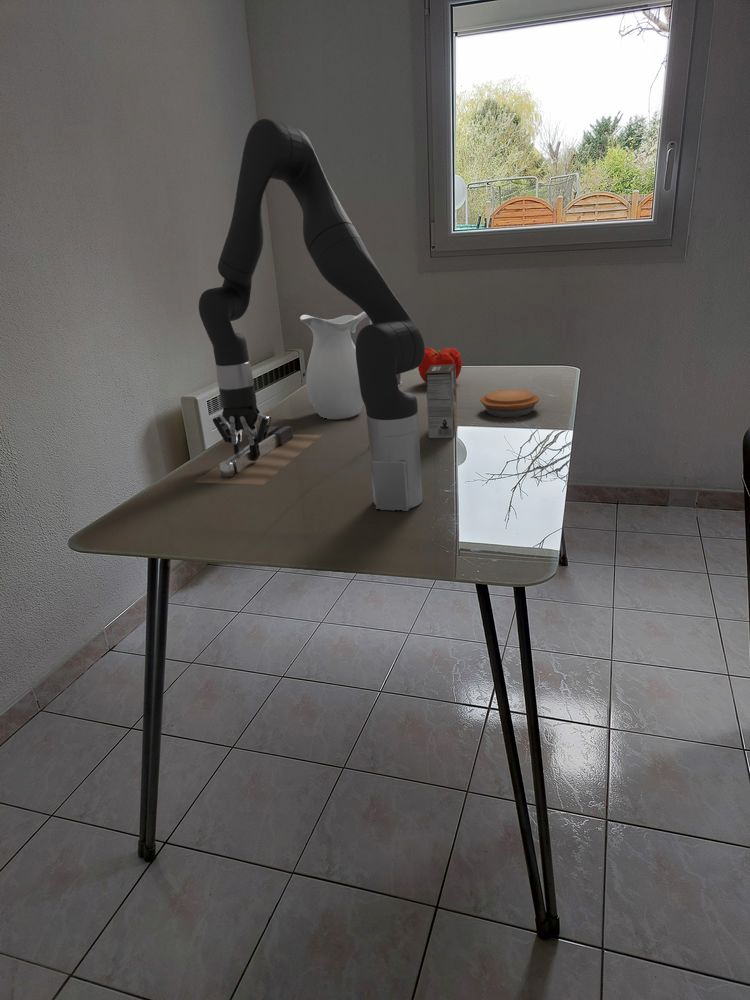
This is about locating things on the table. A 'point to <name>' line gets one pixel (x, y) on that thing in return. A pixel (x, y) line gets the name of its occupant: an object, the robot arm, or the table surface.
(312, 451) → the table surface
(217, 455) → the table surface
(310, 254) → the robot arm
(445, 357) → the tomato
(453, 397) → the coffee box
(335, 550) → the table surface
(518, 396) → the pie
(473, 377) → the table surface
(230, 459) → the arm
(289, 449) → the board
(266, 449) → the arm
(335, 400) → the pitcher
